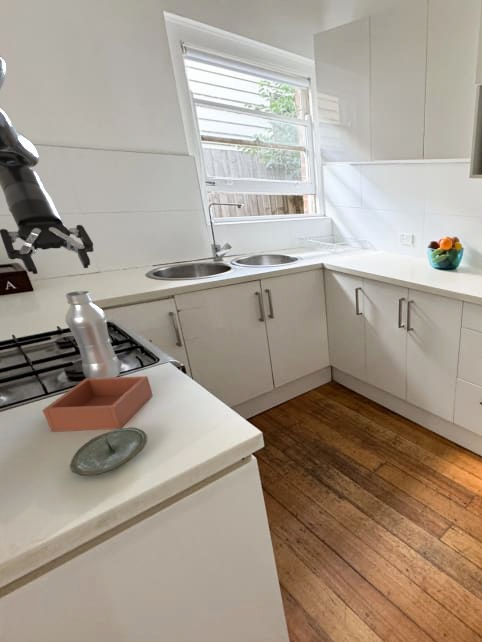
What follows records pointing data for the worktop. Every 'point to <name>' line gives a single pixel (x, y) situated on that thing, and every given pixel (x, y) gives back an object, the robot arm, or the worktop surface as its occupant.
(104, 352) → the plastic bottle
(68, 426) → the caddy
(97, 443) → the lid
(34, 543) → the worktop surface
